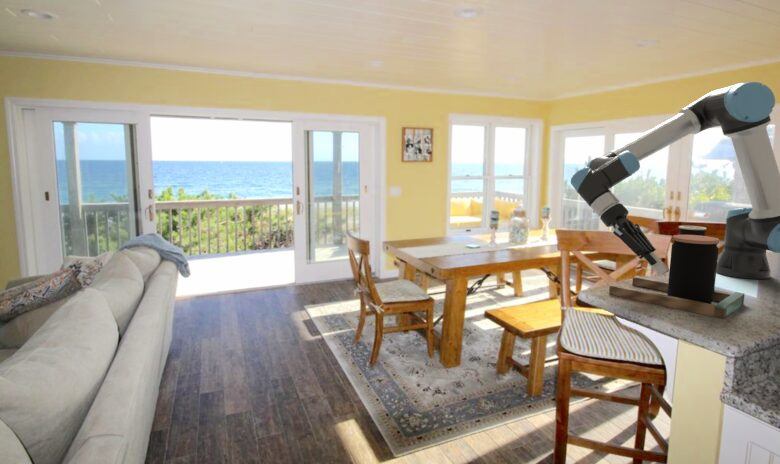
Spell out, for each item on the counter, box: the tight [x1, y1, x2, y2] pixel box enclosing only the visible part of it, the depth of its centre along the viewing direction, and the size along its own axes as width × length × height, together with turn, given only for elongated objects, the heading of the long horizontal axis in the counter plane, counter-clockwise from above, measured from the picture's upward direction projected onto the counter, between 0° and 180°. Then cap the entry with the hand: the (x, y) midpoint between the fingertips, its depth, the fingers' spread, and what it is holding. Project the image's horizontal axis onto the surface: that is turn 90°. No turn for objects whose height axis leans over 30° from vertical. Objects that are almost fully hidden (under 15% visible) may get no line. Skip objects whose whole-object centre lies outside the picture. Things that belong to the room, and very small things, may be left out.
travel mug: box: [677, 225, 707, 236], centre depth 145 cm, size 8×8×18 cm
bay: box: [608, 275, 746, 319], centre depth 127 cm, size 28×18×3 cm, turn 40°
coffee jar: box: [666, 234, 720, 304], centre depth 124 cm, size 11×11×18 cm
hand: (664, 272), depth 128 cm, fingers closed
